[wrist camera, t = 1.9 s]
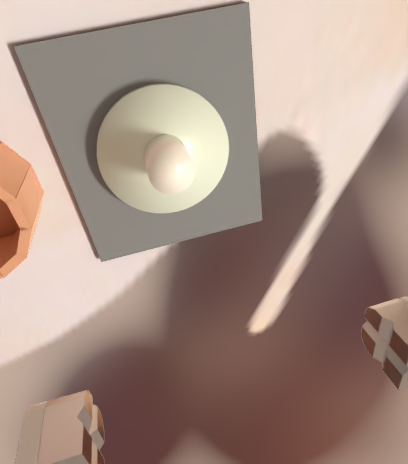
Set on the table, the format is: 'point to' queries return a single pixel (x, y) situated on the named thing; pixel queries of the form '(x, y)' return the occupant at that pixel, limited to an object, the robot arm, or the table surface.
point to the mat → (137, 75)
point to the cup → (16, 208)
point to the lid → (162, 148)
